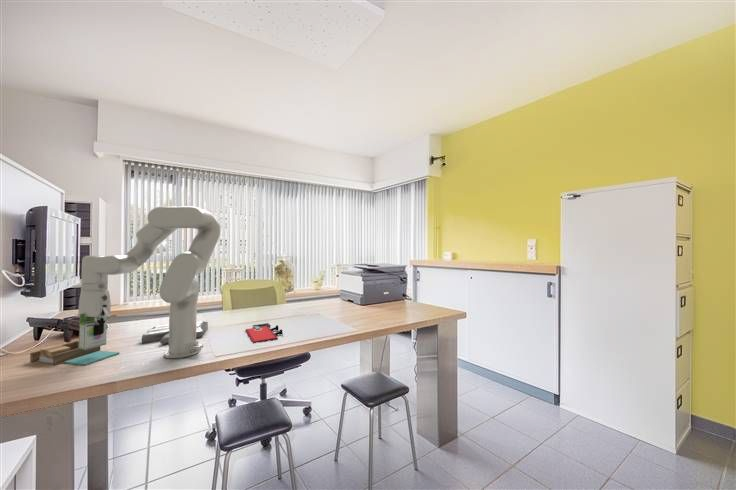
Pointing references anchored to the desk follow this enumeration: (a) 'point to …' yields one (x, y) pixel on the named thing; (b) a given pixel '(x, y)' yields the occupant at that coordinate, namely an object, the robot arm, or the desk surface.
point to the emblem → (163, 333)
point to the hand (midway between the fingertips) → (93, 333)
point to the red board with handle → (262, 333)
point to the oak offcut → (53, 351)
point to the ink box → (90, 334)
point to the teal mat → (91, 358)
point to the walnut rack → (66, 353)
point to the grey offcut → (45, 359)
